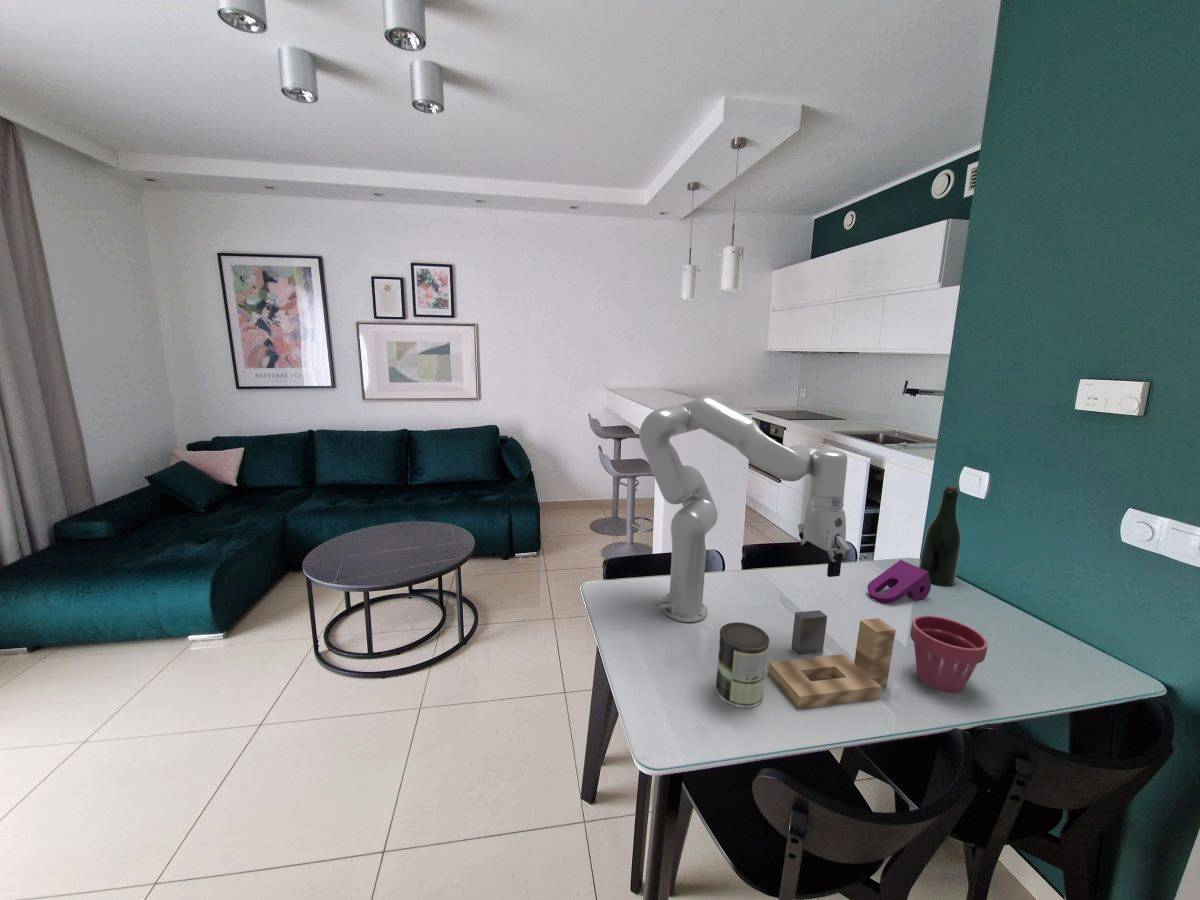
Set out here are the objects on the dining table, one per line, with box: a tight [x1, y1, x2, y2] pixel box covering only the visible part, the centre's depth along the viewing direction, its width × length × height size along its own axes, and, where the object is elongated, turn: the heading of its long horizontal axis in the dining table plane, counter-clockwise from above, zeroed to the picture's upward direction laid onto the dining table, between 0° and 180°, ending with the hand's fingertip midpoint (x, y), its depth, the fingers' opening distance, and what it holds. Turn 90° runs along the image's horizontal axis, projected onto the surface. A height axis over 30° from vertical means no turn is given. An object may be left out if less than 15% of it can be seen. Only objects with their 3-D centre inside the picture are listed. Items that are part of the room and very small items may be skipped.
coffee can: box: [714, 621, 770, 709], centre depth 107 cm, size 10×10×14 cm
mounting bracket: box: [866, 559, 932, 604], centre depth 156 cm, size 10×8×18 cm
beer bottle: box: [919, 485, 962, 587], centre depth 165 cm, size 10×10×33 cm
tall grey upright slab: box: [790, 609, 828, 656], centre depth 124 cm, size 7×3×10 cm, turn 102°
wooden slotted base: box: [767, 617, 897, 710], centre depth 111 cm, size 25×12×14 cm, turn 102°
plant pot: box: [909, 615, 989, 694], centre depth 114 cm, size 14×14×13 cm
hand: (819, 567), depth 121 cm, fingers open, 9 cm apart
